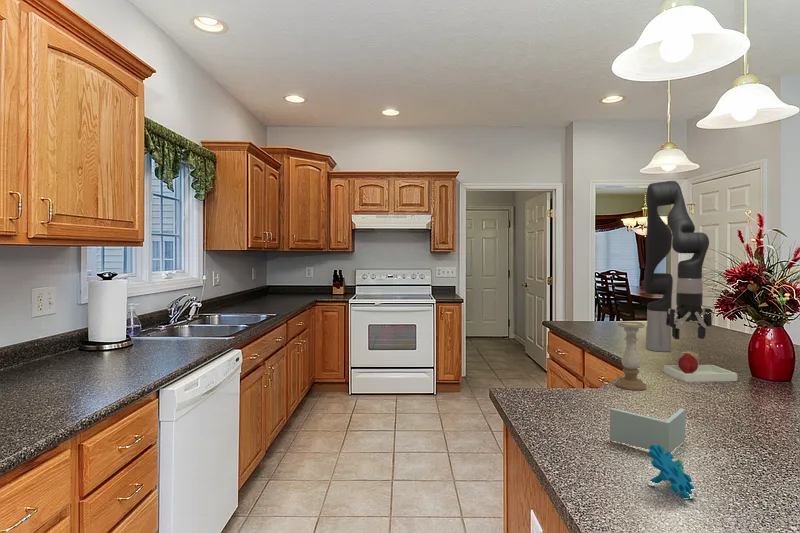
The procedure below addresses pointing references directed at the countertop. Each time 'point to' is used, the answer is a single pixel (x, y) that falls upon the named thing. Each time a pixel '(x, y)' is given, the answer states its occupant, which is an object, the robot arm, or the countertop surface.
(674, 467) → the teal irregular piece
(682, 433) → the right angle wall
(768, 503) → the countertop surface
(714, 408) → the countertop surface
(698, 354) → the maple block
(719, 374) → the tray
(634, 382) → the candle holder
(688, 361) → the pomegranate
